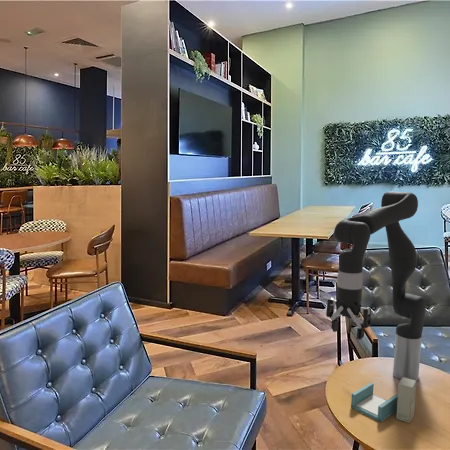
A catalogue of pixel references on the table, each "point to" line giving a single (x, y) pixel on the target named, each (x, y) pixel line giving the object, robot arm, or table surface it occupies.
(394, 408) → the u rest
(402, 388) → the skincare box
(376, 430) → the table surface
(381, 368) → the table surface
